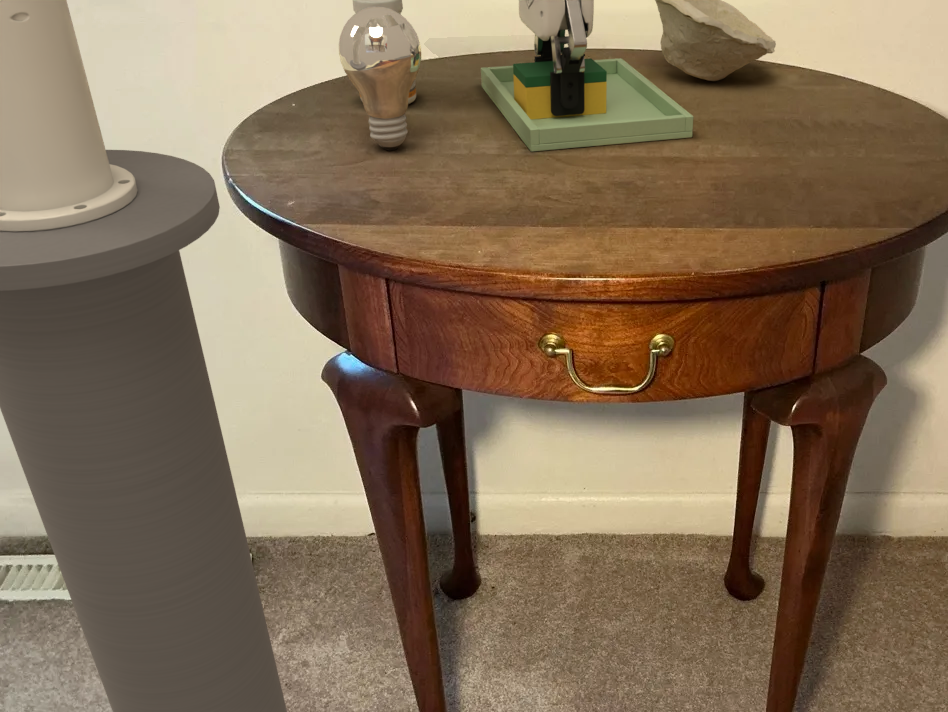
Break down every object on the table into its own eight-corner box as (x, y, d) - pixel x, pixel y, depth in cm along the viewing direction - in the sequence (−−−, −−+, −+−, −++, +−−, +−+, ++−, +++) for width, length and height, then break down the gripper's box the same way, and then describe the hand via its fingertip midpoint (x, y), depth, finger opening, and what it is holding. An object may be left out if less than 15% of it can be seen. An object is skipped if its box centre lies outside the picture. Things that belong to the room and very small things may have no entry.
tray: (530, 151, 95) (530, 129, 94) (481, 86, 112) (480, 67, 110) (692, 137, 99) (693, 116, 97) (621, 76, 116) (621, 58, 114)
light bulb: (445, 145, 96) (434, 5, 89) (392, 167, 91) (377, 20, 84) (388, 132, 99) (374, -5, 92) (334, 151, 94) (315, 9, 87)
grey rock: (781, 98, 110) (792, -5, 104) (647, 96, 109) (650, -7, 104) (763, 61, 122) (772, -33, 116) (643, 59, 122) (646, -35, 116)
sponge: (526, 120, 100) (525, 77, 98) (514, 105, 104) (512, 63, 102) (606, 113, 102) (606, 71, 100) (591, 99, 106) (591, 58, 104)
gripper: (493, -114, 98) (502, 85, 109) (540, -88, 85) (545, 135, 96) (570, -116, 100) (572, 79, 111) (627, -91, 87) (623, 128, 97)
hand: (559, 103), depth 103 cm, fingers closed on sponge, 5 cm apart
